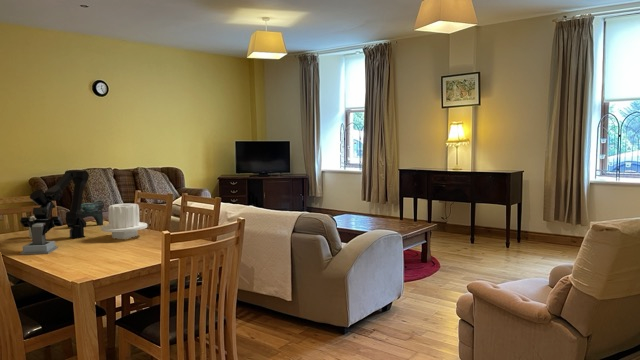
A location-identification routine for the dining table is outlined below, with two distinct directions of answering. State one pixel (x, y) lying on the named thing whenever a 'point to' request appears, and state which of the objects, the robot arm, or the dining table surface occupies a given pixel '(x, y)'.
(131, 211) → the ribbed cylinder on disc
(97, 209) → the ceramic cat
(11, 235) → the dining table surface
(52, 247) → the socket holder
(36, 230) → the dark gray plug block
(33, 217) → the skincare box
